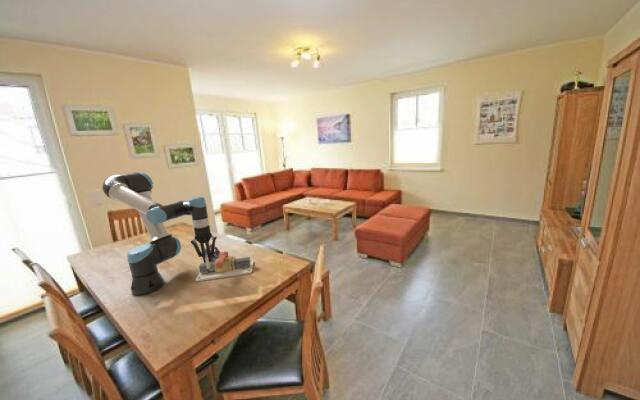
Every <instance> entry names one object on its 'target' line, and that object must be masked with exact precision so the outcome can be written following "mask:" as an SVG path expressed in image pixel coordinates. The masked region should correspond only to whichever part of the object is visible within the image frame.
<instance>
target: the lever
mask: <svg viewBox="0 0 640 400" xmlns="http://www.w3.org/2000/svg"><path fill="white" fill-rule="evenodd" d="M220 252H221V251H220ZM228 256H229V252H228V251H225V250H224V251H222V252H221V253H220V258H219V260H218V262H217V264H216V268H222V266H223V263H224V261H225V259H226V258H227V257H228Z"/></svg>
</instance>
